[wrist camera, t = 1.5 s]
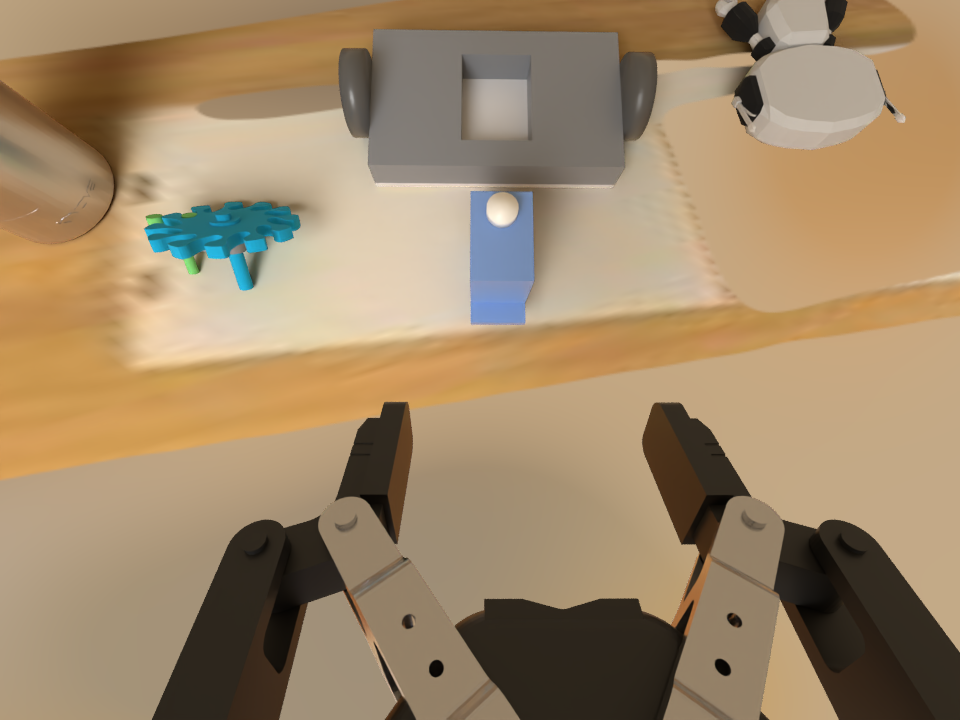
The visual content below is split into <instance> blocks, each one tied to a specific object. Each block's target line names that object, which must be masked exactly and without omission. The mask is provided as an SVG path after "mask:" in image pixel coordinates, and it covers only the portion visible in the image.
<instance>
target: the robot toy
mask: <svg viewBox="0 0 960 720" xmlns="http://www.w3.org/2000/svg"><path fill="white" fill-rule="evenodd" d="M846 7H847V1H846V0H766V2H765V3H764V5H763V6H762V8H761V9H760V11H759V13H758V14H756V13H755V12H754V11H753V9H752V8H751V7H750V6H749V5H748V4H747V3H746V2H741V3H739V4H738V3H737V0H719V1H718V2H717V4H716V7H715V10H716V13H717V15H718V16H721V17H724V20H723V23H722V25H721V27H722V28H723V30H724V31H725V32H726V33H727V34H728V35H729V37H730V38H731V39H732V40H735V41H740V42H748V43H749V44H750V46H751V48H752V50H753V51H752V53H751V56H752V57H753V58H754V59H755V60H756V62H755V63H754V65H753V66H752V67H751V69H750V70H749V72H748V73H747V75H746V76H745V77H744V79H743V80H742V82H741V83H740V85H739V86H738V88H737V89H736V90H735V95H734V99H733V101H732V105H733V107H734V108H736V110H737V114H738V116H739V119H740V122H741V124H742V125H744V126H745V129H746V133H748V134H749V135H751V136H752V137H754V138H755V139H757V140H758V141H760V142H762V143H765V144H769V145H773V146H778V147H784V148H792V149H807V150H814V149H818V148H824V147H828V146H833V145H837V144H840V143H842V142H845V141H848V140H850V139H852V138H853V137H854V136H856V135H857V134H858V133H859V132H860V131H861V130H863V129H864V128H865V127H866V126H867V125H869V124H870V123H871V122H872V121H873V120H874V119H875V118H877V117H878V116H879V115H880V114H881V111H882V108H883V105H885V106H886V107H887V108H888V109H889V110H890V111H891V113H892V114H893V115H894V116H895V119H896V120H897V122H902V123H904V122H905V118H906V117H905V116H904V115H903V114H902V113H900V112H899V111H898V110H897V109H896V108H895V106H894V105H893V104H892V103H891V102H890V101H889V100H888V98H887V97H886V94H885V91H884V88H883V86H882V83H881V80H880V77H879V74H878V71H877V70H876V69H875V66H874V63H873V61H872V60H871V59H869V58H868V57H866V56H864V55H863V54H861V53H859V52H858V51H855V50H852V49H847V48H842V47H837V46H834V43H835V39H836V37H834V36H833V35H832V34H831V33H832V32H834V31H835V30H836V29H837V28H838V27H839V25H840V23H841V22H842V20H843V18H844V15H845V11H846Z"/></svg>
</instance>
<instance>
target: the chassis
mask: <svg viewBox="0 0 960 720" xmlns="http://www.w3.org/2000/svg"><path fill="white" fill-rule="evenodd" d="M656 85H657V63H656V58H655V56H654V54H653V53H652V52H628V53H626V54H625V55H624V57H623V59H622V60H621V63H620V65H619V46H618V32H544V31H470V30H396V29H374V32H373V55H372V59H371V56H370V54H369V52H368V50H367V49H365V48H343V49H342V50H341V52H340V56H339V87H340V95H341V101H342V107H343V112H344V116H345V120H346V123H347V126H348V128H349V131H350V133H351V134H352V136H353V137H355V138H369V149H368V166H369V169H370V171H371V174H372V176H373V179H374V181H375V184H376V186H413V187H534V188H613V187H614V185H615V183H616V182H617V180H618V178H619V176H620V175H621V173H622V171H623V170H624V168H625V158H624V140H637V139H638V138H640V136H641V135H642V134H643V132H644V130H645V128H646V126H647V123H648V121H649V118H650V115H651V111H652V108H653V104H654V99H655V93H656Z"/></svg>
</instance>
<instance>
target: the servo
mask: <svg viewBox="0 0 960 720" xmlns="http://www.w3.org/2000/svg"><path fill="white" fill-rule="evenodd" d="M533 283H534V238H533V192H504V191H471V241H470V287H471V324H488V325H524V324H525V302H526V299H527V297H528V295H529V292H530V290H531V288H532V285H533Z"/></svg>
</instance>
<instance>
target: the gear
mask: <svg viewBox="0 0 960 720" xmlns="http://www.w3.org/2000/svg"><path fill="white" fill-rule="evenodd" d="M224 205H225V206H224V207H223V208H222V209H220V210H218V211H215V212H212V211H211V208H210V206H208V205H206V206H197V207H192V208H191V210H192V212H193V213H185V214H183V215H182V214H181V213H172V214H168V215H165V216H162V215H161V214H152V215H148V216H146V220H147V222H148V224H149V226H147V227H146V228H145V229H144V230H145V232H146V234H147V236H148V240H149V242H150V244H151V247H152V249H153V251H154V252H163V251H167V250H170V251H171V253H172V256H173V257H175V258H178V259H183V260H184V262H185V265H186V267H187V270H188V272H189V274H197V273H199V269H198V267H197V264H196V261H195V259H194V255H195V254H197V253H199V252H201V251H203V252H207V255H208V258H213V259H223V258H228V257H229V258H230V261H231V264H232V267H233V270H234V273H235V276H236V279H237V282H238V285H239V288H240V290H250V289H252V288H253V287H254V286H253V283H252V280H251V276H250V273H249V270H248V267H247V264H246V260H245V257H244V254H243V252H245V251H246V249H247V252H249V253H253V252H260V251H265V250H267V249H268V247H267V244H266V240H265V237H264V236H273V237H274V240H275V241H276V242H285V241H288V240H290V239H292V238H294V237H293V233H292V231H296V230H298V229H299V228H300V226H301V225H300V220H299V216H298V215H291V211H290V208H289V207H287V206H283V207H278V208H274V209H272V206H271V204H270V203H266V202H258V203H255V204H254V205H252V206H249V207H246V208H244V207H243V204H242V202H227V203H225V204H224Z"/></svg>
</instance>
